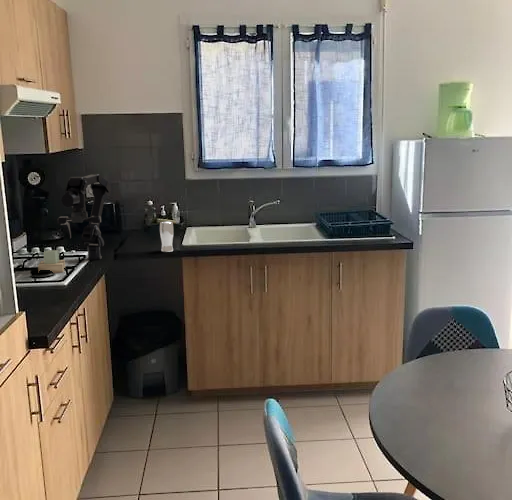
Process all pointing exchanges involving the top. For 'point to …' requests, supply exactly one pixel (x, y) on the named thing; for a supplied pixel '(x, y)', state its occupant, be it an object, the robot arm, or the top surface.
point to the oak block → (52, 266)
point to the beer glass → (166, 236)
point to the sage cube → (51, 257)
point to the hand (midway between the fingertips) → (80, 238)
